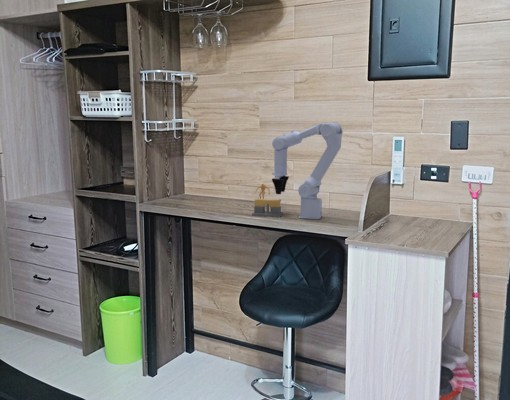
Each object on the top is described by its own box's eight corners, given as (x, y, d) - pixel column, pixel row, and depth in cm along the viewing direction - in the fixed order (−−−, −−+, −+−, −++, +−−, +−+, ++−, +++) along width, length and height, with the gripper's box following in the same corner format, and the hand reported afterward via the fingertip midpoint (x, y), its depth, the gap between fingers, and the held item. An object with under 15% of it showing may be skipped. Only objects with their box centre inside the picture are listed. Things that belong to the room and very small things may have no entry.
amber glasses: (257, 204, 242) (257, 198, 241) (281, 205, 239) (281, 199, 238) (254, 206, 238) (254, 199, 237) (279, 207, 235) (279, 200, 234)
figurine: (251, 208, 254) (251, 184, 252) (257, 206, 259) (257, 182, 257) (266, 209, 250) (266, 185, 248) (272, 207, 255) (272, 183, 253)
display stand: (256, 212, 243) (256, 202, 242) (283, 214, 239) (283, 203, 239) (251, 215, 236) (251, 205, 235) (279, 217, 233) (279, 206, 232)
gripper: (275, 161, 244) (275, 190, 247) (268, 164, 230) (268, 194, 233) (290, 162, 242) (290, 190, 245) (283, 165, 229) (283, 195, 231)
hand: (280, 192), depth 239 cm, fingers open, 7 cm apart
